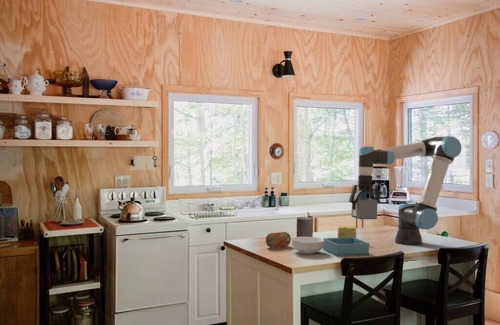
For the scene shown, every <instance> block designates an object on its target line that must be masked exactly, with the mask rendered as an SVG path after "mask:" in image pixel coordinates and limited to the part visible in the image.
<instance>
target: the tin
mask: <svg viewBox="0 0 500 325" xmlns="http://www.w3.org/2000/svg"><path fill="white" fill-rule="evenodd" d="M291 242H292V237H291V234H289V233H288V232H286V231H279V232H270V233H268V234H267V235H266V237H265V244H266V246H267V247H269V248H270V249H279V248H281V249H282V248H285V247H288V246H289V245H290V244H291Z"/></svg>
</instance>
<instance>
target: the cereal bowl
mask: <svg viewBox="0 0 500 325" xmlns="http://www.w3.org/2000/svg"><path fill="white" fill-rule="evenodd" d="M291 245H292V247H293V249H294V250H296V251H297V252H299V253H300V254H305V255H314V254H316V253H317V252H320V251H322V250H323V246H324V240H323V238H320V237H314V236H313V237H297V236H296V237H295V236H294V237H291Z"/></svg>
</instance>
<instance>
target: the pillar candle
mask: <svg viewBox="0 0 500 325" xmlns="http://www.w3.org/2000/svg"><path fill="white" fill-rule="evenodd" d="M313 226H314V217H313V218H312V217H309V216H300V217H299V216H298V217H296V237H314V236H313V233H314V232H313V230H314V227H313Z"/></svg>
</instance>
